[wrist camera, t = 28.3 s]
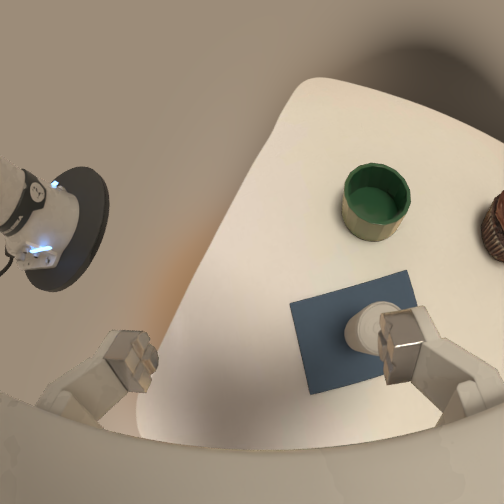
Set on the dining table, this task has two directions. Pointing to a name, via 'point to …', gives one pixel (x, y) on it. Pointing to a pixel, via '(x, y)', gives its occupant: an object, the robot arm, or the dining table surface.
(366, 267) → the dining table surface
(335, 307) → the mat
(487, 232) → the cupcake
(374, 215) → the green round pot
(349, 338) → the beverage can
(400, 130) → the dining table surface
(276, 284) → the dining table surface
